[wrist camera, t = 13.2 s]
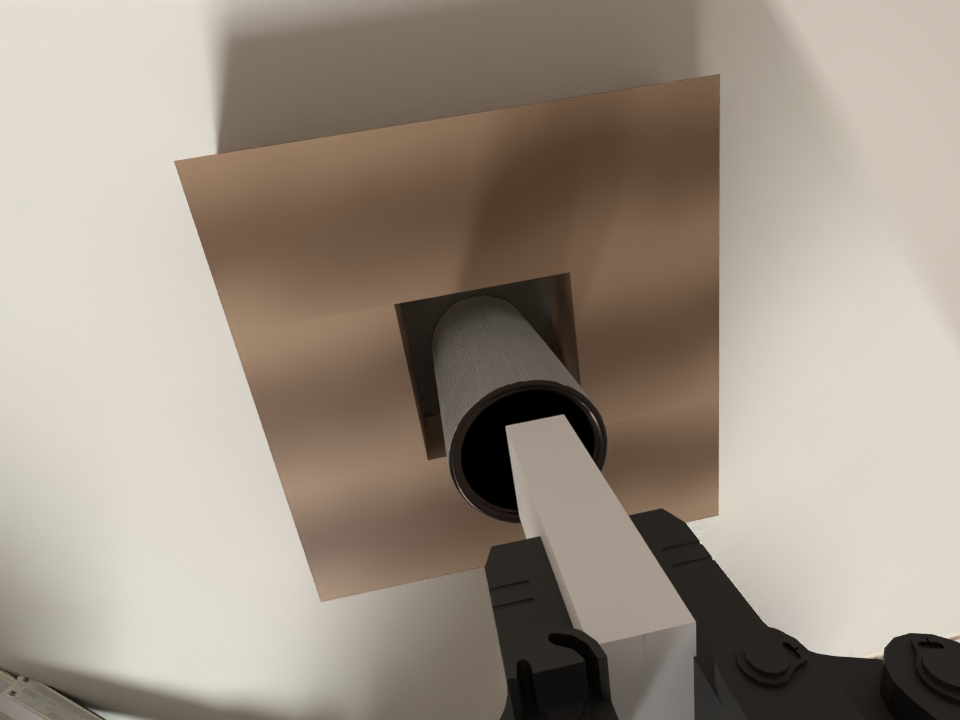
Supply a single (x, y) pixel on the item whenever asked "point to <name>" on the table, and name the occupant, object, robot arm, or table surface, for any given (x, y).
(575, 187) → the socket board
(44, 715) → the caliper
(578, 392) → the grey metal tube
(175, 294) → the table surface
